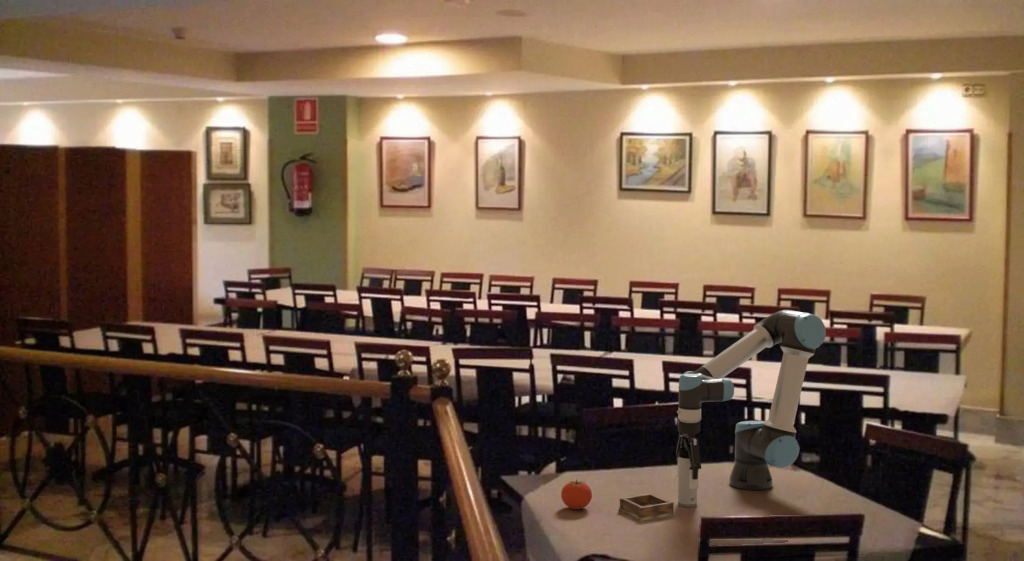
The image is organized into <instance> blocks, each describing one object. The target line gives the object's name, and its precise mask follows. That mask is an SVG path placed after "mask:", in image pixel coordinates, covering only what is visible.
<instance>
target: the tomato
mask: <svg viewBox="0 0 1024 561" xmlns="http://www.w3.org/2000/svg"><path fill="white" fill-rule="evenodd" d="M560 496H561V497H560V498H561V500H562V503H563V504H564V505H565V506H567V507H568V508H569V509H572V510H581V509H584V508H586V507H587V506H588V505H589V504H591V503H590V502H592V497H593V492H592V489H591V488H590V486H589V485H588V484H587V483H586V482H585V481H582V480H581V481H578V479H577V478H576V480H575V481H573V480H571V481H569V482H568V483H566V484H564V486H563V487H562V489H561V495H560Z"/></svg>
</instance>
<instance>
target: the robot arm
mask: <svg viewBox="0 0 1024 561" xmlns="http://www.w3.org/2000/svg"><path fill="white" fill-rule="evenodd" d="M826 335H827V330H826V325H825V324H824V322H823V319H821V318H820V317H819V316H817V315H816V314H813V313H809V312H803V311H802V312H801V311H796V310H792V309H781V310H778V311H776V312H773V313H772V314H770V315H769V316H766V317H765V318H763V319H762V320H760V321H759V322H758V323H756V324H755V325H754V326H753V330H751V331H750V332H748V333H747V334H746V335H744V336H743V337H741V338H740V339H738V340H737V341H736V342H734V343H733V344H731V345H730V346H728V347H727V348H726V349H724V350H722V351H721V352H720V353H719V354H718V355H716V356H715V357H713V358H711V359H710V360H709V361H707V362H706V363H705V364H703V365H702V366H700V367H699V368H698V369H696V370H687V371H685V372H683V374H681V375H680V376H679V380H678V386H677V388H678V404H677V405H678V407H677V408H678V410H676V413H677V414H678V415H677V418H678V421H677V431H678V432H679V433H678V439H677V445H676V451H675V455H676V457H677V470H676V471H677V477H676V478H678V471H679V449H680V448H682V447H686V451H688V454H689V459H690V465H691V467H690V468H689V470H690V485H689V488H690V489H697V490H698V489H699V470H701V469H702V463H701V453H700V443H699V442H700V441H699V440H700V439H699V438H696V434H697V435H698V434H699V433H700V432H701V423H702V422H701V420H702V403H709V402H711V403H712V402H725V401H731V400H732V399H733V397H734V394H735V385H734V383H733V381H732V380H731V379H730V378H725V377H726V376H727V375H729V374H730V373H732V372H733V371H734V370H736V369H737V368H739V367H740V366H742V365H743V364H744V363H746V362H747V361H749V360H750V359H751V358H753V357H755V356H756V355H757V354H759V353H760V352H762V351H763V350H764V349H766V348H770V349H771V348H772V347H773V346H775V345H777V344H780V349H781V351H782V352H783V353H782V354H783V355H782V359H781V363H780V368H779V370H778V376H777V381H776V384H775V385H776V386H775V389H774V394H773V398H772V402H771V406H770V409H769V410H770V411H769V416H768V419H767V420H745V421H740V422H737V423H736V424H735V430H734V436H735V438H734V464H733V466H732V469H731V471H730V476H729V483H728V484H729V485H730V486H732V487H733V488H734V487H735V488H737V489H740V490H747V491H748V490H749V491H763V490H768V489H771V488H773V477H772V474H771V471H770V467H775V468H779V469H784V468H788V467H790V465H792V464H793V463H794V462H795V461H796V460H797V458H798V456H799V453H800V445H799V443H798V441H797V439H796V434H797V430H796V428H795V427H794V424H795V420H796V415H797V411H798V406H799V403H800V398H801V397H800V396H801V393H802V388H803V384H804V380H805V376H806V371H807V368H808V362H809V359H810V358H811V357H813V356H814V355H815V352H816V349H817V348H819V347H821V345H823V343H824V342H825V340H826Z"/></svg>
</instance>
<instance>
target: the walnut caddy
mask: <svg viewBox="0 0 1024 561" xmlns="http://www.w3.org/2000/svg"><path fill="white" fill-rule="evenodd" d="M674 505H675V504H674V502H673V501H670V500H667V499H665V498H662V497H659V496H658V495H655V493H646V494H645V493H644V494H639V495H634V496H633V495H632V496H627V497H621V498H619V507H618V511H620V512H622V513H624V512H625V514H626V513H627V515H628V514H629V516H630V517H633V518H634V519H637V520H639V521H642V522H643V521H648V520H654V519H659V518H665V517H670V516H675V512H674V507H675V506H674Z"/></svg>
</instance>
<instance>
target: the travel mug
mask: <svg viewBox="0 0 1024 561" xmlns="http://www.w3.org/2000/svg"><path fill="white" fill-rule="evenodd" d="M690 467H691V465H690V459H689V454H688V451H686V447H682V448H680V449H679V471H678V470H677V471H678V477H677V480H678V481H677V482H678V484H677V485H678V486H677V488H678V489H677V505H678V506H680V507H681V508H686V509H687V508H688V509H689V508H695V507H697V506H698V501H697V500H698V489H690V488H689V485H690V470H689V468H690Z"/></svg>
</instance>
